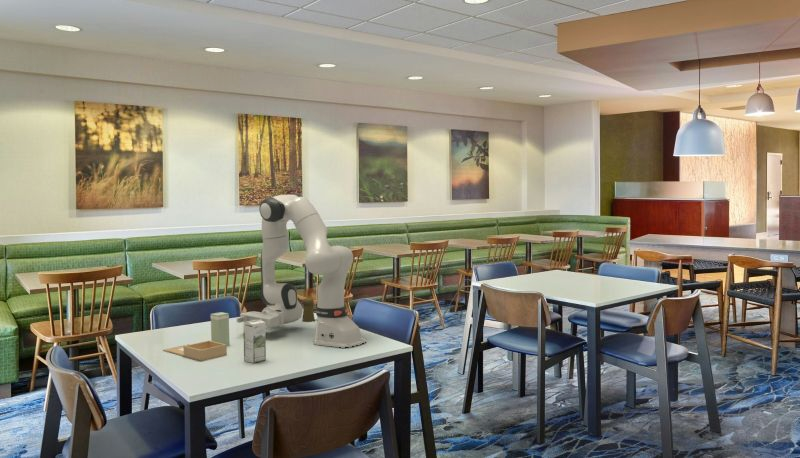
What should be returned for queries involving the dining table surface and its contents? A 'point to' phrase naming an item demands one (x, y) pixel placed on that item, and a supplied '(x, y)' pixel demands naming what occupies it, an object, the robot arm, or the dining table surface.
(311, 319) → the cork
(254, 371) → the dining table surface
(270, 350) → the dining table surface
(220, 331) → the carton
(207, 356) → the box
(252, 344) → the syrup box
